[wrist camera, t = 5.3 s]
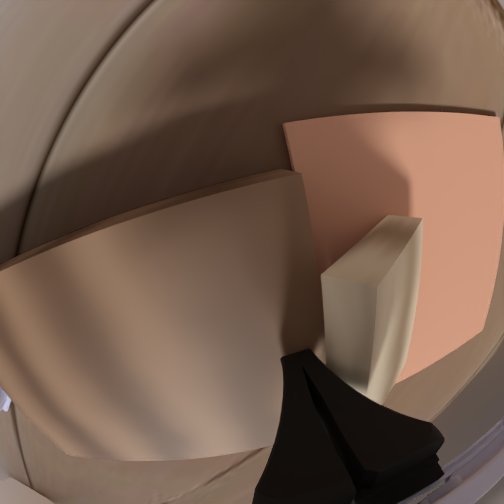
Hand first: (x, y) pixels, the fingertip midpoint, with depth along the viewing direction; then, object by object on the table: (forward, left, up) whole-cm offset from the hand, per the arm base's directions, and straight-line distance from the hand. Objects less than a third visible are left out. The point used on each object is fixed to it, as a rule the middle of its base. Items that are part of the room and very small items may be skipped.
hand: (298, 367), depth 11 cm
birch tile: (+2, +3, -1) cm, 4 cm away
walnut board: (-5, -8, -4) cm, 10 cm away
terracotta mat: (+6, +10, -4) cm, 12 cm away
